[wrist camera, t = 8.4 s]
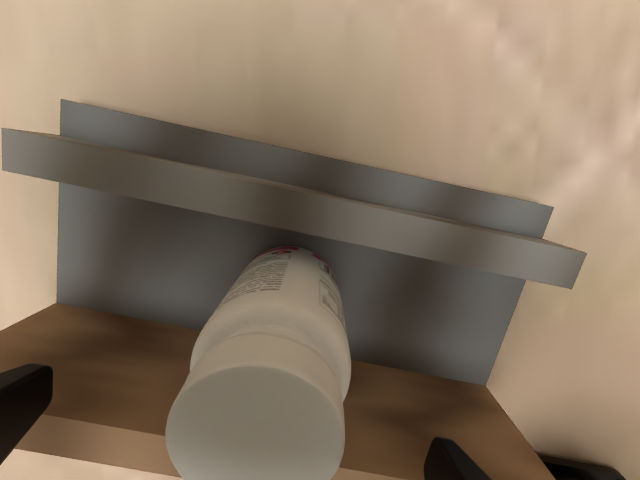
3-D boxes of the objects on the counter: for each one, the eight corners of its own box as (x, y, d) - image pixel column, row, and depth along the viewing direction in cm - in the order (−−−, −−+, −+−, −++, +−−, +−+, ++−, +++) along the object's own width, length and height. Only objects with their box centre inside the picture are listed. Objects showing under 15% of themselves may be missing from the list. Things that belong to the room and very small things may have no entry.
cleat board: (538, 204, 15) (721, 234, 8) (467, 396, 17) (561, 544, 11) (78, 103, 14) (-152, 42, 7) (71, 320, 16) (-106, 427, 10)
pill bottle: (230, 320, 15) (125, 499, 7) (255, 231, 14) (166, 318, 6) (321, 347, 16) (323, 547, 7) (353, 261, 15) (395, 382, 6)
